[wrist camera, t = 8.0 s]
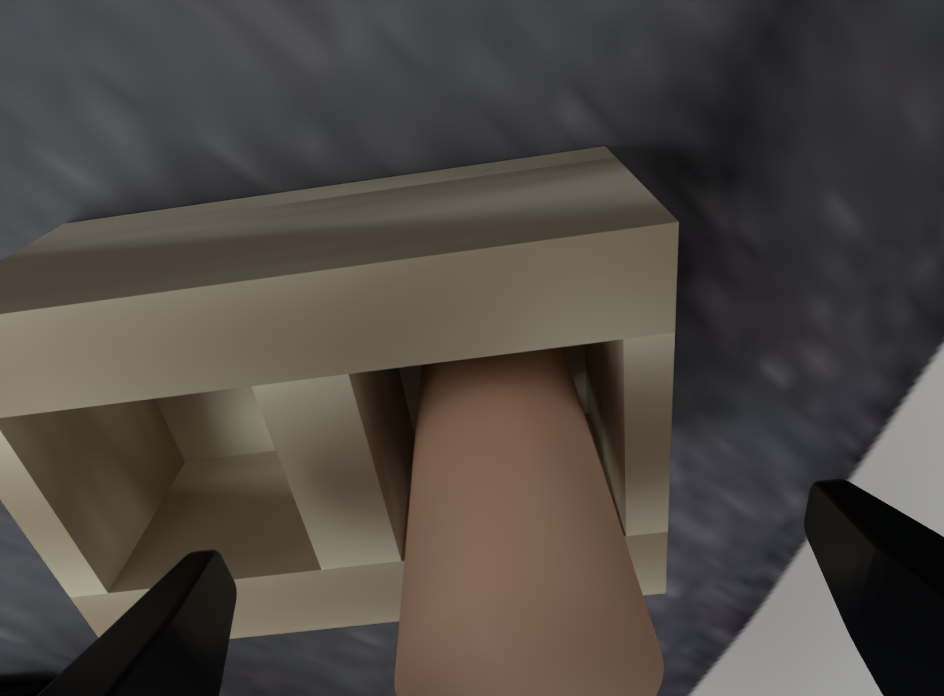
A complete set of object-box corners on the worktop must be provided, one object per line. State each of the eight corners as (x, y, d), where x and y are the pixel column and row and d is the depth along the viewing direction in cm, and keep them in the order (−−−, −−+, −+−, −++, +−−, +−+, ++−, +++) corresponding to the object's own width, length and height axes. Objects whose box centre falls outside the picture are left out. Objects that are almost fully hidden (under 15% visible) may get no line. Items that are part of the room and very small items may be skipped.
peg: (564, 398, 15) (663, 742, 8) (436, 416, 15) (421, 768, 8) (554, 278, 13) (665, 576, 6) (410, 299, 14) (365, 613, 7)
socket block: (612, 440, 17) (665, 593, 13) (194, 489, 18) (108, 651, 13) (605, 146, 13) (678, 222, 9) (64, 223, 14) (-120, 330, 9)
